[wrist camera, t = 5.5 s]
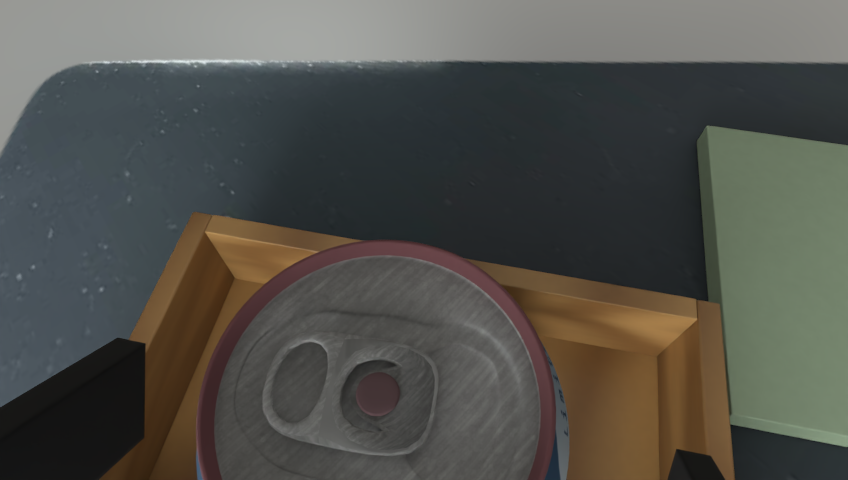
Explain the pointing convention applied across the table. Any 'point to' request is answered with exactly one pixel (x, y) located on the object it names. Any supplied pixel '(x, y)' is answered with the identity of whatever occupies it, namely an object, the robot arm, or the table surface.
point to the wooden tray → (533, 291)
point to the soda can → (381, 376)
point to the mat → (779, 278)
